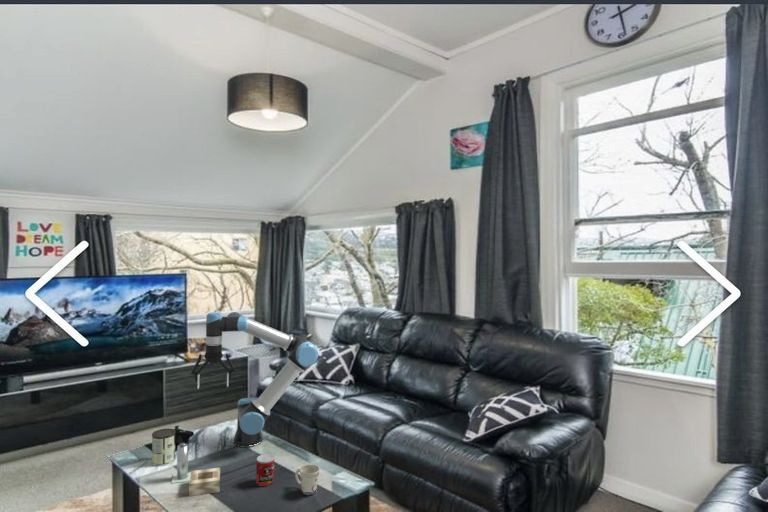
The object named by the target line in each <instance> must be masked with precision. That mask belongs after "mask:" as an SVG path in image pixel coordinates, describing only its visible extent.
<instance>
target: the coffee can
mask: <svg viewBox="0 0 768 512" xmlns="http://www.w3.org/2000/svg"><path fill="white" fill-rule="evenodd" d="M174 429H175V428H169V427H168V428H161V429H158V430H155V431H153V432H152V433H151V442H152V443H151V465H152V466H155V467H163V466H164V467H165V466H168V465H170V464H173V463H174V462H175V461H176V445H175V432H176V431H175V430H174Z"/></svg>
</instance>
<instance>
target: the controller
mask: <svg viewBox="0 0 768 512" xmlns="http://www.w3.org/2000/svg"><path fill="white" fill-rule="evenodd" d="M179 427H180V426H179V425H175V426H174V428H173V429H174V430H175V431H176V432H175V447H177V446H179V444H180V443H186V444H187V445H188V443H189V442H190V438H192V437H193V436H194V435H195V433H194V431H193V430H185V429H180V428H179ZM180 438H181V439H182V442H181V441H180Z"/></svg>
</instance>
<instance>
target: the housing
mask: <svg viewBox="0 0 768 512" xmlns="http://www.w3.org/2000/svg"><path fill="white" fill-rule="evenodd" d="M190 472H191V476H190V481H189V486H188V487H189V488H188V496H189V497H192V496H200V495H206V494H214V493H220V490H221V489H220V485H221V467H214V468H206V469H205V468H204V469H199V470H198V469H197V470H196V469H195V470H191V471H190Z"/></svg>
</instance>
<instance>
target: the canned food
mask: <svg viewBox="0 0 768 512" xmlns="http://www.w3.org/2000/svg"><path fill="white" fill-rule="evenodd" d="M255 463H256V464H255V465H256V467H255V468H256V473H255V475H256V476H255V478H256V480H255V483H256V484H258V486H259V485H261V486H260V487H263V486H264V487H266V486H265V485H268V484H271V483H272V482H273V483H274V480H275V456H274V455H273V454H270V453H266V454H265V453H264V454H260V455H259V456H257V457H256V462H255ZM273 483H272V484H273ZM272 484H271V485H272Z"/></svg>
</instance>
